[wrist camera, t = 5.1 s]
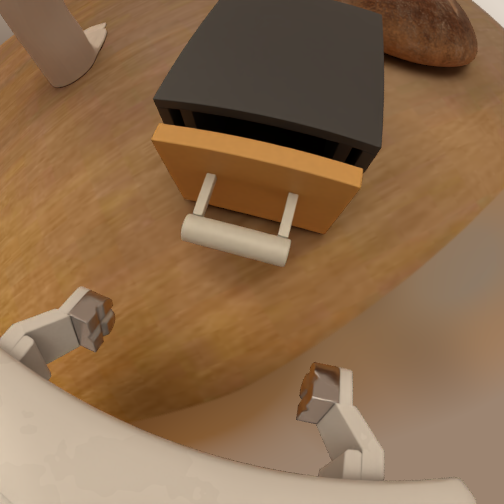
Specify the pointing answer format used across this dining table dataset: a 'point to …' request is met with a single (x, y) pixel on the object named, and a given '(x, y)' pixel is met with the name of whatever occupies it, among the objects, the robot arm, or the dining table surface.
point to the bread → (424, 30)
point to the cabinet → (286, 71)
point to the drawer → (255, 181)
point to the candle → (53, 38)
